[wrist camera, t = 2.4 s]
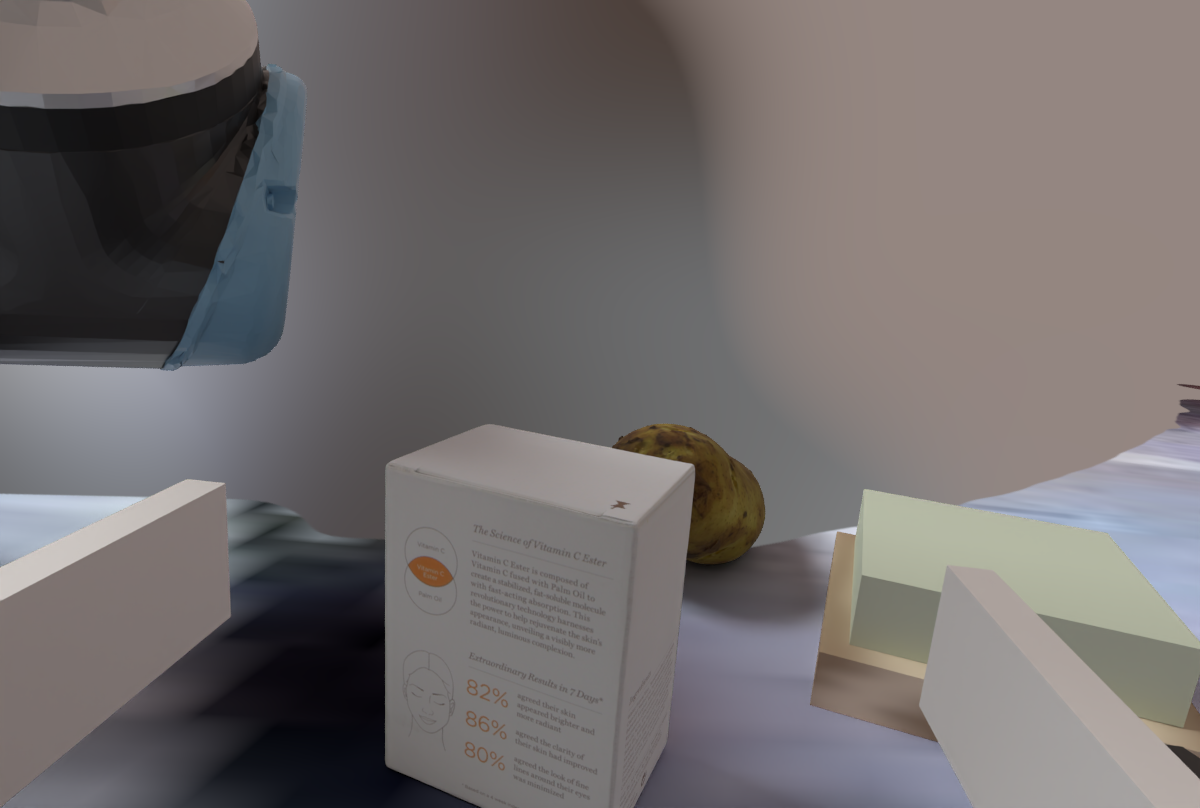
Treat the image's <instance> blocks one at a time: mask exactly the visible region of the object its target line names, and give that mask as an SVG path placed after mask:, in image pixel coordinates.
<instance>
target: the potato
mask: <svg viewBox="0 0 1200 808" xmlns="http://www.w3.org/2000/svg"><path fill="white" fill-rule="evenodd" d="M612 448H614V449H619V450H623V451H628V452H633V453H638V454H643V455H648V456H653V457H658V458H663V459H668V460H673V461H679V462H684V463H690V464H693V465H694V467H695V482H694V492H693V502H692V512H691V522H690V531H689V541H688V549H687V556H686V560H689V561H692V562H695V563H699V564H721V563H726V562H730V561H733V560H735V559H737V558H738V557H740V556H741V555H743V554H744V553H745V552H746V551H748V550H749V549H750V548H751V546H752V545H753V544H754V542H755V541H756V539H757V538H758V536H759V534H760V533H761V530H762V528H763V524H764V520H765V505H764V498H763V494H762V491H761V488H760V486H759V483H758V481H757V480H756V478H755V477H754V475H753V474H752V472H751V471H750V470H748V468H746V467H745V466H744V465H743V464H742V463H740V462H739V461H737V460H736V459H734V458H732V457H730V456H729V455H728V454H727V453H726V452H725V451H724V450H723V448H721V447H720V446H719V445H718V444H717V443H716V442H715V441H713V440H712V439H711V438H709V437H708V436H707V435H704V434H702V433H700V432H699V431H697V430H695V429H693V428H691V427H685V426H681V425H675V424H654V425H650V426H646V427H643V428H641V429H638V430H635V431H633V432H631V433H629V434H628V435H626V436H624V437H623V436H621V437H620V438H619V441H618V442H617V443H616V444H615V445H613V447H612Z"/></svg>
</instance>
